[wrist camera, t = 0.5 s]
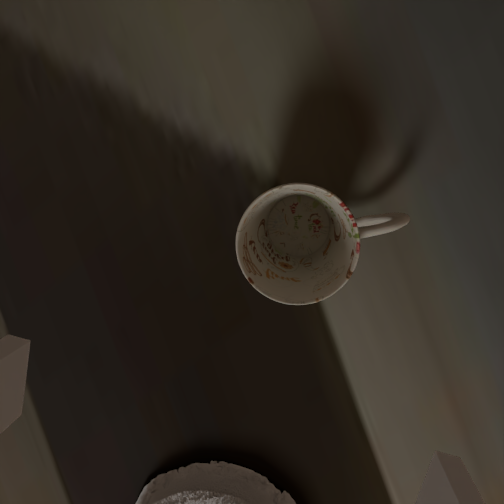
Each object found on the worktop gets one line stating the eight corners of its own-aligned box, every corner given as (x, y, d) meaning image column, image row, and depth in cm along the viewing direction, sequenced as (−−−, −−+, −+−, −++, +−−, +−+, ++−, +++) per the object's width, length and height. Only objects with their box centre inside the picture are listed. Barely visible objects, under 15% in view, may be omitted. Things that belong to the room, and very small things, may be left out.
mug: (242, 189, 38) (222, 198, 29) (385, 157, 37) (416, 154, 27) (263, 278, 40) (250, 315, 30) (402, 252, 38) (436, 281, 28)
